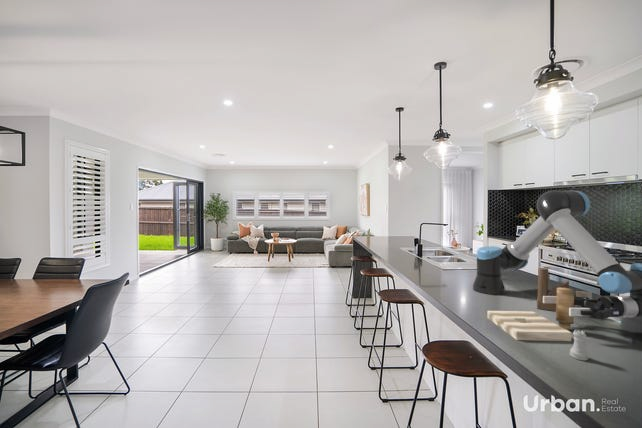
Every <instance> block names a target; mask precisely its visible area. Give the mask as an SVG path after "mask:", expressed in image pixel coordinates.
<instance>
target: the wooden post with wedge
mask: <svg viewBox="0 0 642 428" xmlns="http://www.w3.org/2000/svg"><path fill="white" fill-rule="evenodd" d="M537 271H538V272H537V273H538V275H537V299H536V309H537V310H544V311H551V312H556V304H554V303H543V296H557V288H568V289H570V288H569V287H570V280H569V279H568V278H567V279H565V280H563V282H561V283H559V284H558V285H557V286H555V287H553V288H552V289H550V290H549V268H545V267H539V268H538V270H537Z"/></svg>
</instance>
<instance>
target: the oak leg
mask: <svg viewBox="0 0 642 428" xmlns="http://www.w3.org/2000/svg"><path fill="white" fill-rule="evenodd" d="M556 296H557V303H556V311H555V321H556V322H558V325H559V326H560V327H562V328H564V329H566V330H568V331H570V329H571V325H573V324H574V323H575V321H574V317H575V316H569V308H575V307H574V306H575V305H574V296H575V289H572V288H569V289H568V288H557V295H556Z"/></svg>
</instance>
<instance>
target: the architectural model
mask: <svg viewBox="0 0 642 428" xmlns="http://www.w3.org/2000/svg"><path fill="white" fill-rule="evenodd" d="M575 296H577V297H588V298H589V299H593V292H591V291H582V290H581V291H580V290H576V291H575ZM584 306H586V304H584ZM575 307H578V308H582V307H581V306H577V305H575Z"/></svg>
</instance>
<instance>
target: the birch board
mask: <svg viewBox="0 0 642 428" xmlns="http://www.w3.org/2000/svg"><path fill="white" fill-rule="evenodd" d="M486 313H487V317H486V318H487V319H488V320H490V321H491V322H492V323H494V324H495V325H496V326H497V327H499V328H500V329H502V331H504V332H505V333H507V334H509V336H511V338H513V339H515V340H516V341H540V342H541V341H546V342H549V341H550V342H572V335H573V332H572V331H570V330H569V331H568V330H566V329H564V328H562V327H560V326H559V324H557V323H555V322H553V321H551V320H549V319H548V318H546V317H545V316H542V315H540V314H538V313H537V312H534V311H532V310H531V311H526V310H525V311H524V310H522V311H520V310H487V312H486Z"/></svg>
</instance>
